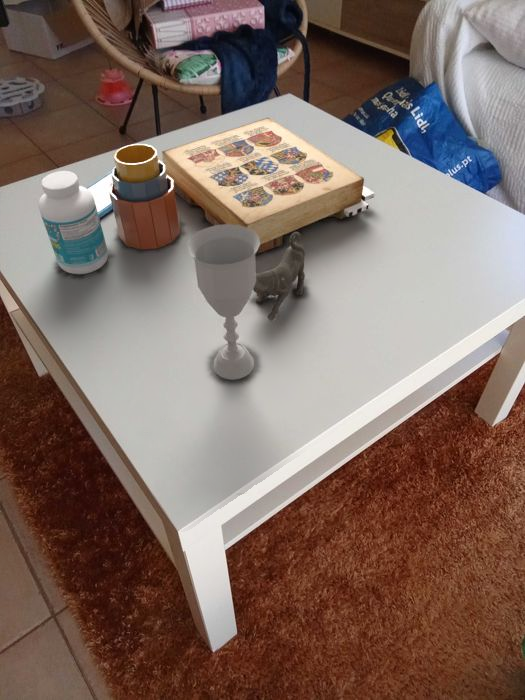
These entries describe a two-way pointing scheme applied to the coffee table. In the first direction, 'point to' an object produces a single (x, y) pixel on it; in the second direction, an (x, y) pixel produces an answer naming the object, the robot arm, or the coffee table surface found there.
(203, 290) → the chalice
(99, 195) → the smartphone
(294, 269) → the dog figurine
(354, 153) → the coffee table surface
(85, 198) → the pill bottle
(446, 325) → the coffee table surface
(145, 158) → the ochre cup
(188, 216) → the coffee table surface
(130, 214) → the cup stack
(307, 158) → the book
